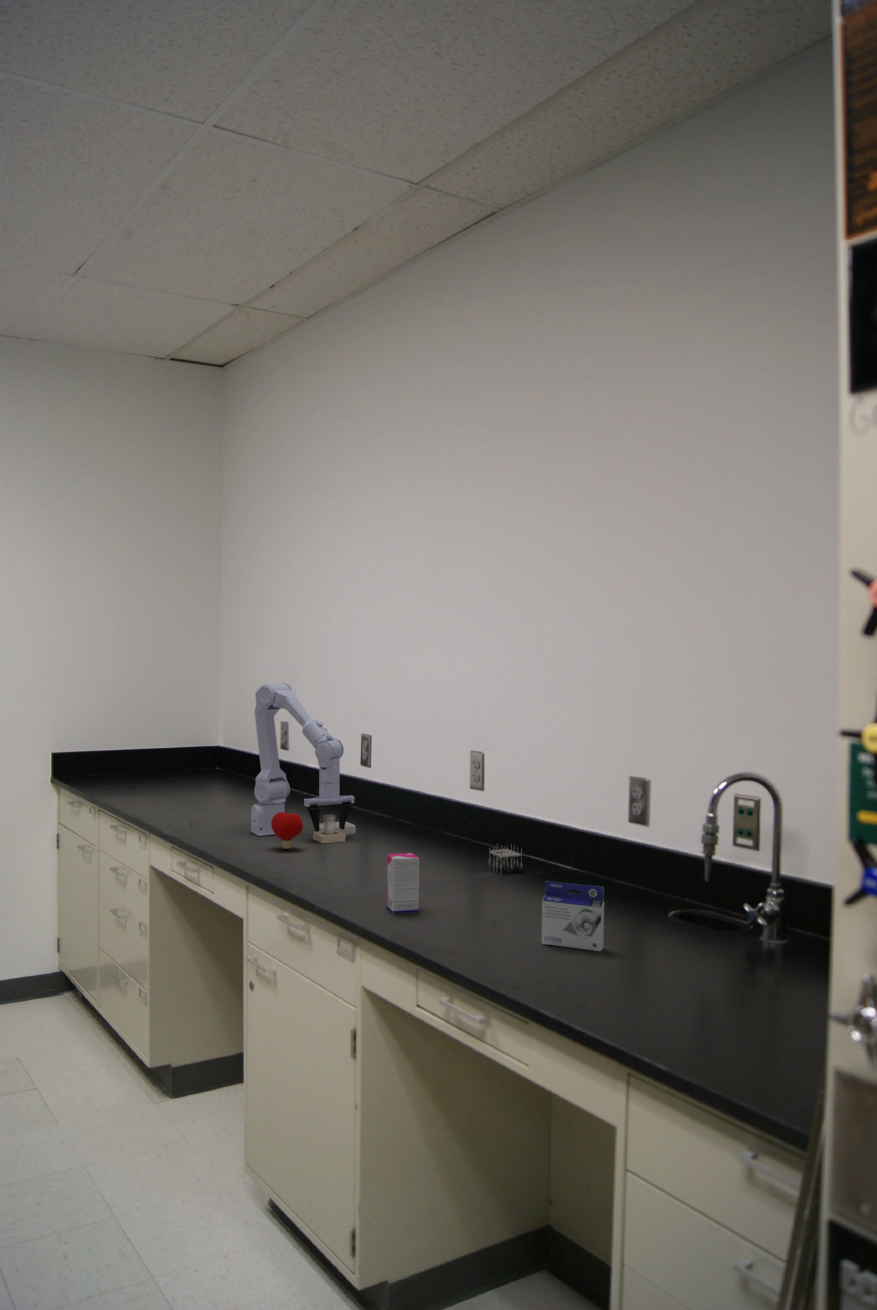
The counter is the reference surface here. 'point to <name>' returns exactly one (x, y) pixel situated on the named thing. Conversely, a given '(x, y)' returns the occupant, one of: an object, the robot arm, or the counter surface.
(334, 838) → the socket block
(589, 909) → the ink box
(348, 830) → the tray
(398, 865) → the supplement box
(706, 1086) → the counter surface
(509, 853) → the building frame
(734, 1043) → the counter surface
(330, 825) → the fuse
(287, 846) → the red heart figure
